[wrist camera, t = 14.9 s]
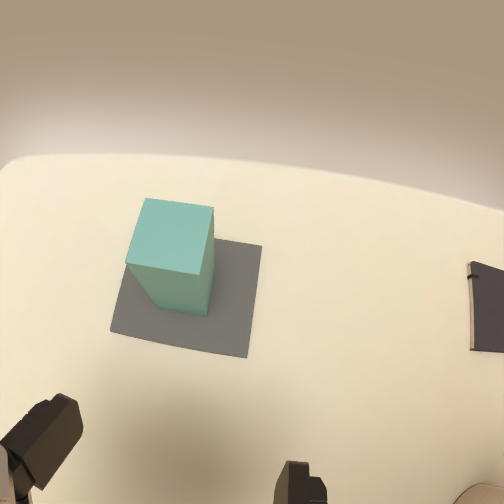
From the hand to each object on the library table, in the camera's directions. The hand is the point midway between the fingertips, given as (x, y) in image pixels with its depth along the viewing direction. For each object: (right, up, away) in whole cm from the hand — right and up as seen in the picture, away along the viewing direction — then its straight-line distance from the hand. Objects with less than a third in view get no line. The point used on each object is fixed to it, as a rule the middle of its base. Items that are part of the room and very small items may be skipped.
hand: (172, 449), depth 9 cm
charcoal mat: (-4, +3, +22) cm, 23 cm away
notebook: (+43, -3, +25) cm, 50 cm away
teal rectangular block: (-4, +3, +22) cm, 22 cm away
